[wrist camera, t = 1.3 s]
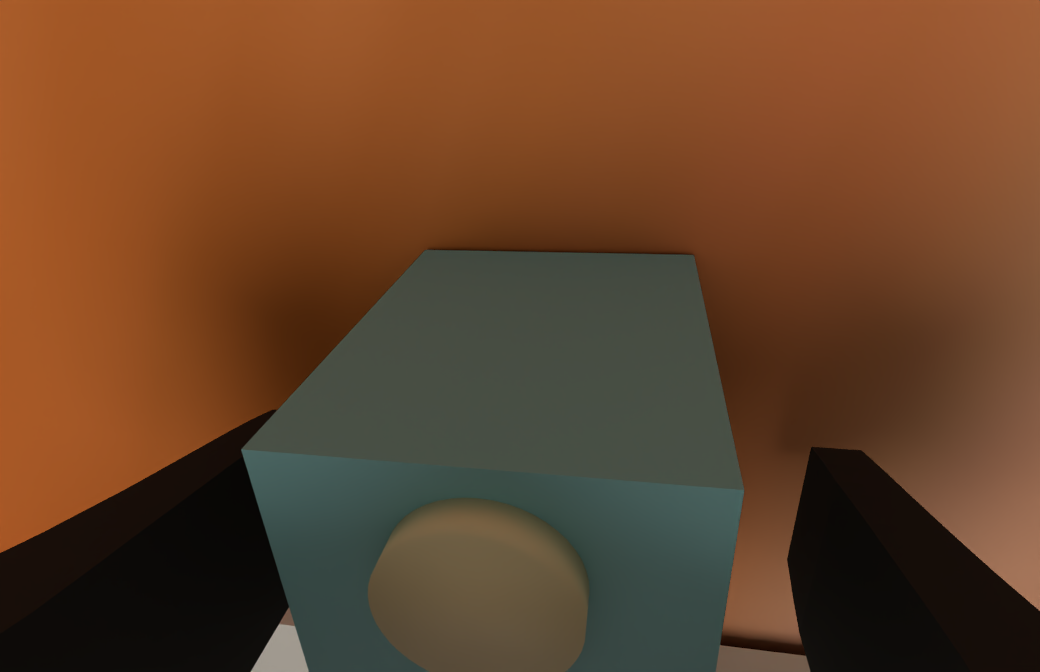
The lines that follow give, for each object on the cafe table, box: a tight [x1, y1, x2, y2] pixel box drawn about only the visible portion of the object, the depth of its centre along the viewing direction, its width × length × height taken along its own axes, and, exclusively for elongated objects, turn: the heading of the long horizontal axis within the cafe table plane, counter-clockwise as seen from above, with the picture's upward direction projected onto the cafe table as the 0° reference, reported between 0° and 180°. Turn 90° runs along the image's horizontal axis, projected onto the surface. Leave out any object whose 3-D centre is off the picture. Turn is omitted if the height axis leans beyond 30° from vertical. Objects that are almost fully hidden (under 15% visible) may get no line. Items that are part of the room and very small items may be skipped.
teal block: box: [241, 250, 744, 672], centre depth 8 cm, size 6×4×5 cm, turn 3°
